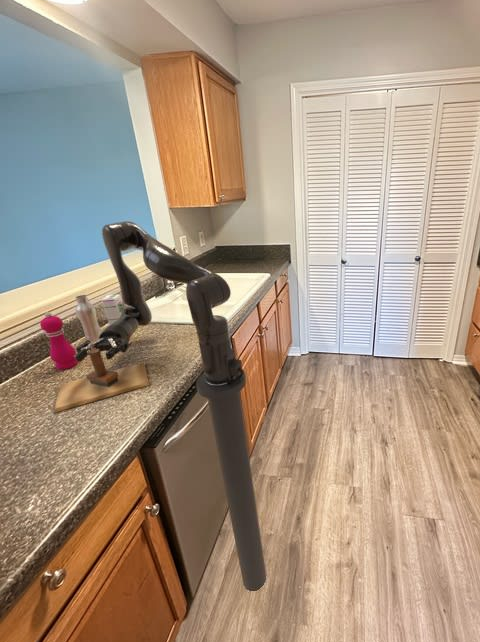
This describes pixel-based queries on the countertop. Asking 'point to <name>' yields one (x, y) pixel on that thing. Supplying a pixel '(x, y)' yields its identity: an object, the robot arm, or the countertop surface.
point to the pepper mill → (58, 342)
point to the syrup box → (113, 307)
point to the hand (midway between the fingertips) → (92, 358)
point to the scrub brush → (100, 371)
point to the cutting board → (100, 387)
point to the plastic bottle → (88, 318)
